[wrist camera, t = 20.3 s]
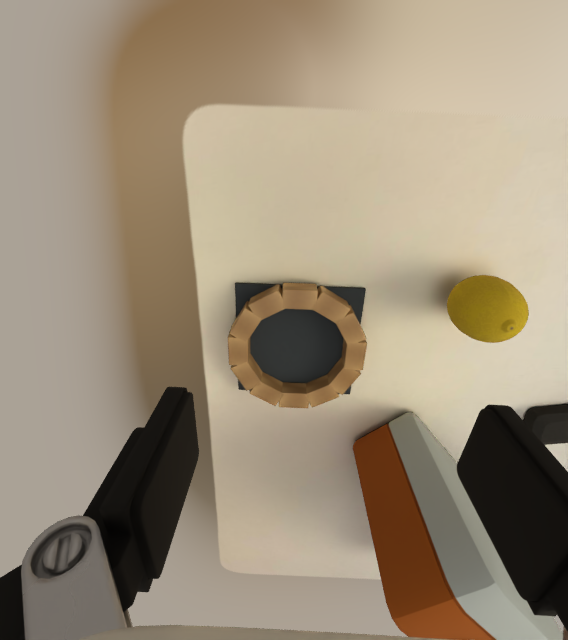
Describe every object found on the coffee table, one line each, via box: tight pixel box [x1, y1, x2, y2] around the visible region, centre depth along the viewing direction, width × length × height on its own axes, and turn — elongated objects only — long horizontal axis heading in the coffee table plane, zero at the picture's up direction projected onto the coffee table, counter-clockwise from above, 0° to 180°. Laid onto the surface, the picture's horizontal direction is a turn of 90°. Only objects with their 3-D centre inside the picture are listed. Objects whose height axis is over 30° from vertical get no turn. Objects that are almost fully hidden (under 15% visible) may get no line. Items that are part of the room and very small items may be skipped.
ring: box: [228, 283, 367, 408], centre depth 34 cm, size 14×14×2 cm
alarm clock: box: [353, 412, 563, 640], centre depth 33 cm, size 18×9×21 cm, turn 40°
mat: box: [235, 283, 366, 394], centre depth 35 cm, size 13×13×1 cm
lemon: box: [447, 275, 529, 343], centre depth 28 cm, size 6×6×8 cm
